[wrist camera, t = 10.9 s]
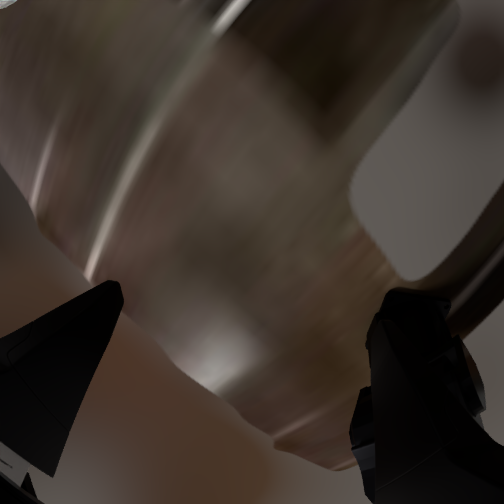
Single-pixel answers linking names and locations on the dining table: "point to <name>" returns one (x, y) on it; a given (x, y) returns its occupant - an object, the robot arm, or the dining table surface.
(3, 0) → the plate stack
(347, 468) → the dining table surface
